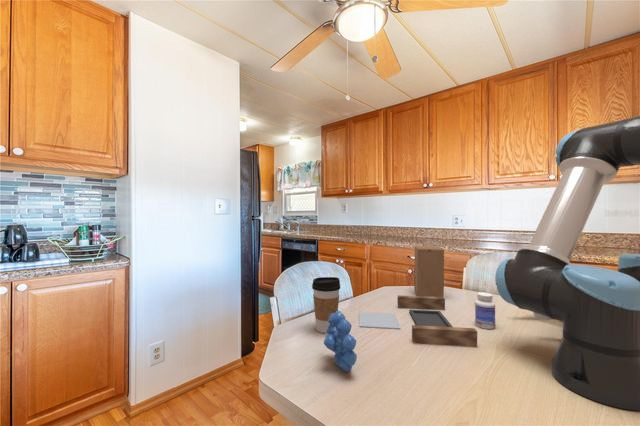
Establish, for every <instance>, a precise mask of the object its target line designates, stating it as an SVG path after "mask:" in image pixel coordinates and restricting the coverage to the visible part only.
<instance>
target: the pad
mask: <svg viewBox="0 0 640 426" xmlns="http://www.w3.org/2000/svg"><path fill="white" fill-rule="evenodd" d="M358 318H359V319H358V321H359V325H358V326H359V328H367V329H368V328H371V329H390V330H392V329H393V330H401V326H400V324H399V320H398V318H397V315H396V313H391V312H390V313H389V312H371V311H370V312H369V311H358Z"/></svg>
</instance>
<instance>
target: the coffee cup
mask: <svg viewBox="0 0 640 426" xmlns="http://www.w3.org/2000/svg"><path fill="white" fill-rule="evenodd" d="M340 281H341V280H340V278H339V277H337V276H334V277H333V276H325V277H324V276H323V277H321V276H320V277H316V278H313V280H312V284H311V286H312V287H311V289H313V297H312V299H313V307H314V310H313V311H314V318H315V319H314V320H315V330H316V331H317V332H319V333H322V334H328V333H327V329H328V326H329V325H330V323H329V322H328V319H329V317H330V315H331V314H332V313H335V312H336V311H339V301H340V290H341V283H340Z"/></svg>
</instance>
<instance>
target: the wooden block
mask: <svg viewBox="0 0 640 426" xmlns="http://www.w3.org/2000/svg"><path fill="white" fill-rule="evenodd" d="M413 271H414V279H413V280H414V285H413V287H414V288H413V289H414V293H415V296H427V297H444V296H445V295H444V293H445V249H444V248H442V247H441V246H439V245H414V270H413ZM444 298H445V297H444Z"/></svg>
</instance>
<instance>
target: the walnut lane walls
mask: <svg viewBox="0 0 640 426" xmlns="http://www.w3.org/2000/svg"><path fill="white" fill-rule="evenodd" d="M397 308H398V309H407V310H408V309H409V310H430V311H445V310H446V298H445V297H427V296H416V295H397ZM411 342H412V343H413V344H422V345H423V344H425V345H438V346H439V345H440V346H441V345H442V346H453V347H454V346H456V347H457V346H459V347H472V348H473V347H474V348H476V347H478V330H477V329H476V328H473V327H459V326H458V327H457V326H456V327H454V326H453V327H439V326H420V325H415V324H412V325H411Z"/></svg>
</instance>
